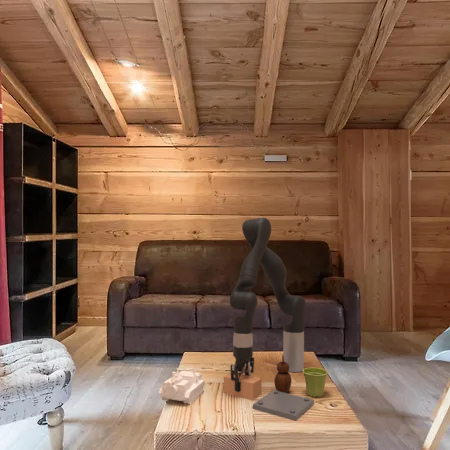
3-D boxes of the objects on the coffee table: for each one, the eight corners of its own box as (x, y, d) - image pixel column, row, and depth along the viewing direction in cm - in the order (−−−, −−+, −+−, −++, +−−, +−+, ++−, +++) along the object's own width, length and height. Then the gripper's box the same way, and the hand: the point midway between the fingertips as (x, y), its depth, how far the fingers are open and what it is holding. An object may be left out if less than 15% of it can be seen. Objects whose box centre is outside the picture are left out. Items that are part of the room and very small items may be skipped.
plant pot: (297, 394, 150) (298, 371, 150) (309, 387, 157) (309, 365, 158) (320, 401, 144) (320, 377, 144) (332, 393, 151) (332, 370, 152)
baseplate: (273, 394, 150) (273, 388, 151) (313, 404, 142) (313, 397, 142) (252, 408, 137) (252, 401, 137) (295, 420, 128) (295, 413, 128)
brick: (232, 387, 157) (232, 372, 157) (261, 394, 150) (261, 378, 150) (223, 392, 152) (224, 376, 152) (253, 400, 145) (253, 383, 145)
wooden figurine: (286, 396, 148) (286, 355, 149) (272, 393, 151) (272, 353, 152) (293, 390, 154) (293, 351, 155) (279, 387, 157) (279, 349, 158)
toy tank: (206, 391, 153) (206, 365, 153) (183, 412, 134) (183, 382, 135) (178, 387, 157) (178, 362, 158) (152, 406, 138) (153, 378, 139)
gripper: (244, 339, 160) (243, 381, 159) (224, 346, 148) (223, 392, 147) (260, 341, 156) (260, 385, 155) (241, 349, 144) (241, 396, 143)
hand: (242, 388), depth 151 cm, fingers closed on brick, 6 cm apart
